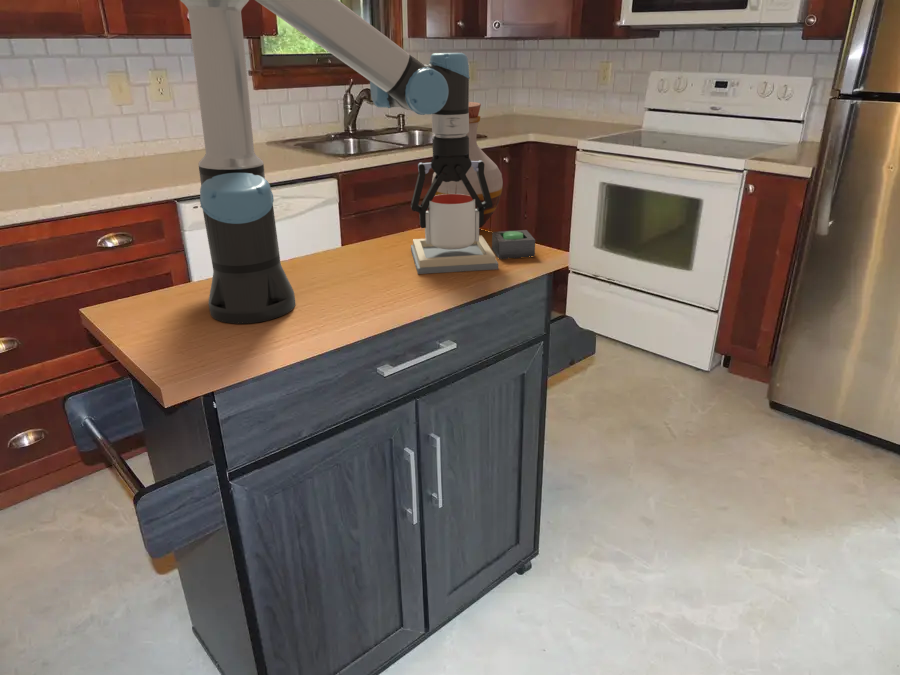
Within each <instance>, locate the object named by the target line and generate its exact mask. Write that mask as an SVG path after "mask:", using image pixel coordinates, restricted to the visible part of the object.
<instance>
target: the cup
mask: <svg viewBox="0 0 900 675" xmlns="http://www.w3.org/2000/svg"><path fill="white" fill-rule="evenodd" d="M427 211H428V213H429V219H430V243H431V244H432V245H433V246H435V247H437V248H441V249H462V248H466V247H469V246H470V245H472V244H473V243H474V241H475V199H472V197H471V196H469V195H464V194H442V195H436V196H434V197H433V199H432V201H430V202H429V207H428V209H427Z"/></svg>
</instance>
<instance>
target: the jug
mask: <svg viewBox="0 0 900 675" xmlns="http://www.w3.org/2000/svg"><path fill="white" fill-rule="evenodd" d="M481 106H482V104H481V103H480V102H475V101H469V132H468V133H467V134H466V135H467V136H468V137H469V158H470V160H471V161H478V160H481V161H483V162H484V175H485V179H486V182H487V186H488V189H489V193H490V197H491V200H492V204H493V205H492V207H491V208H486V209H485V210H484V224H483V225H479V229H480V228H483V226H484V225H485V224H486V223H487V222H488V221H489V219H490V218H491V216H492V215H493V214H494V212H495V211H496V209H497V208H498V205H499V202H500V199H501V195H502V191H503V185H504V184H503V173H502V172H501V170H500V169H499V167H498V165H497V164H496V163H495V162H494V161H493V160H492V159H491V158H490V157H489V156H488V155H487V153H485V152H484V151H483V149H481V148H480V147H479V145H478V143H477V134H478V133H477V131H478V127H479V123H480V122H481V116H480V115H479V114H480V110H481ZM435 176H436V173H435V172H434V171H433V174H432V178H431V179H432V180H431V184H432V183H433V180H434V178H435ZM466 177H467V178H468V180H469V182H470V184H471V185H472V187H473V189H474V190H475V192H476V194H477V196H478V197H479V199H480V201H481V203H482V202H484V197H483V194H482V190H481V187H480V183H479V180H478V176H477V172H476V171H474V169H473V167H472V166H471V167H470V169H469V170H468V172H467V173H466ZM442 194H464V195H469V196H470V194H469V192H468V191H467V189H466V187H465V186H464V184H463V182H462V181H461V180H460V181H459V182H455V181H450V182H444V181H443V182H442V184H441V185H440V186H439V188H438V190H437V192H436V194H435V196H436V195H442ZM475 209H477V206H476V204H475Z"/></svg>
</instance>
